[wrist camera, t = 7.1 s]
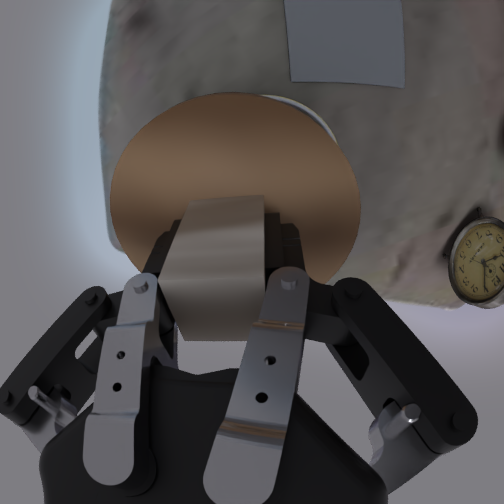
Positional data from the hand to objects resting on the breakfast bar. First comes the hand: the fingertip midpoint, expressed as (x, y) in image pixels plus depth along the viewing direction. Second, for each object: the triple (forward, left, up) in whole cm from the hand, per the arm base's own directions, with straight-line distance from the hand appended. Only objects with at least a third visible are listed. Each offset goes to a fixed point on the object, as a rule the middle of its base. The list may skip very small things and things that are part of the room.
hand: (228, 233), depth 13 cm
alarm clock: (+13, +29, -17) cm, 36 cm away
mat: (-11, +10, -16) cm, 22 cm away
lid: (0, 0, -2) cm, 2 cm away
